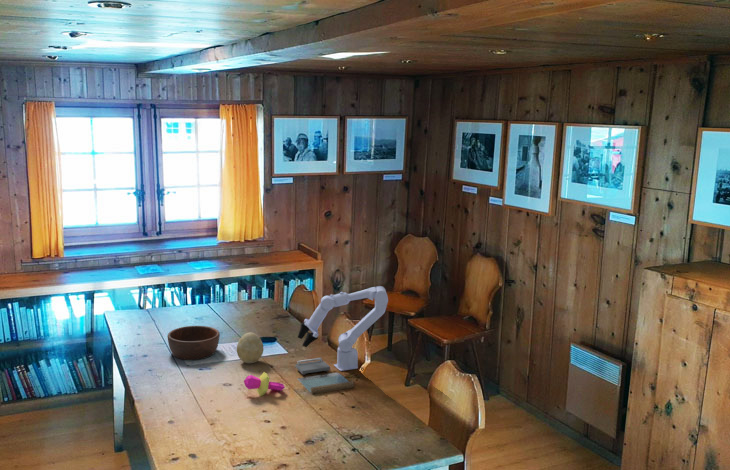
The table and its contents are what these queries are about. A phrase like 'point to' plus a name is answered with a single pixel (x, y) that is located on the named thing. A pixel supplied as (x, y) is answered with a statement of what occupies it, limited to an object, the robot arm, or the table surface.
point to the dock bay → (325, 383)
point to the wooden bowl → (193, 342)
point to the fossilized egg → (250, 348)
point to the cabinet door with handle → (312, 366)
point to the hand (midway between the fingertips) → (301, 342)
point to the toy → (262, 384)
